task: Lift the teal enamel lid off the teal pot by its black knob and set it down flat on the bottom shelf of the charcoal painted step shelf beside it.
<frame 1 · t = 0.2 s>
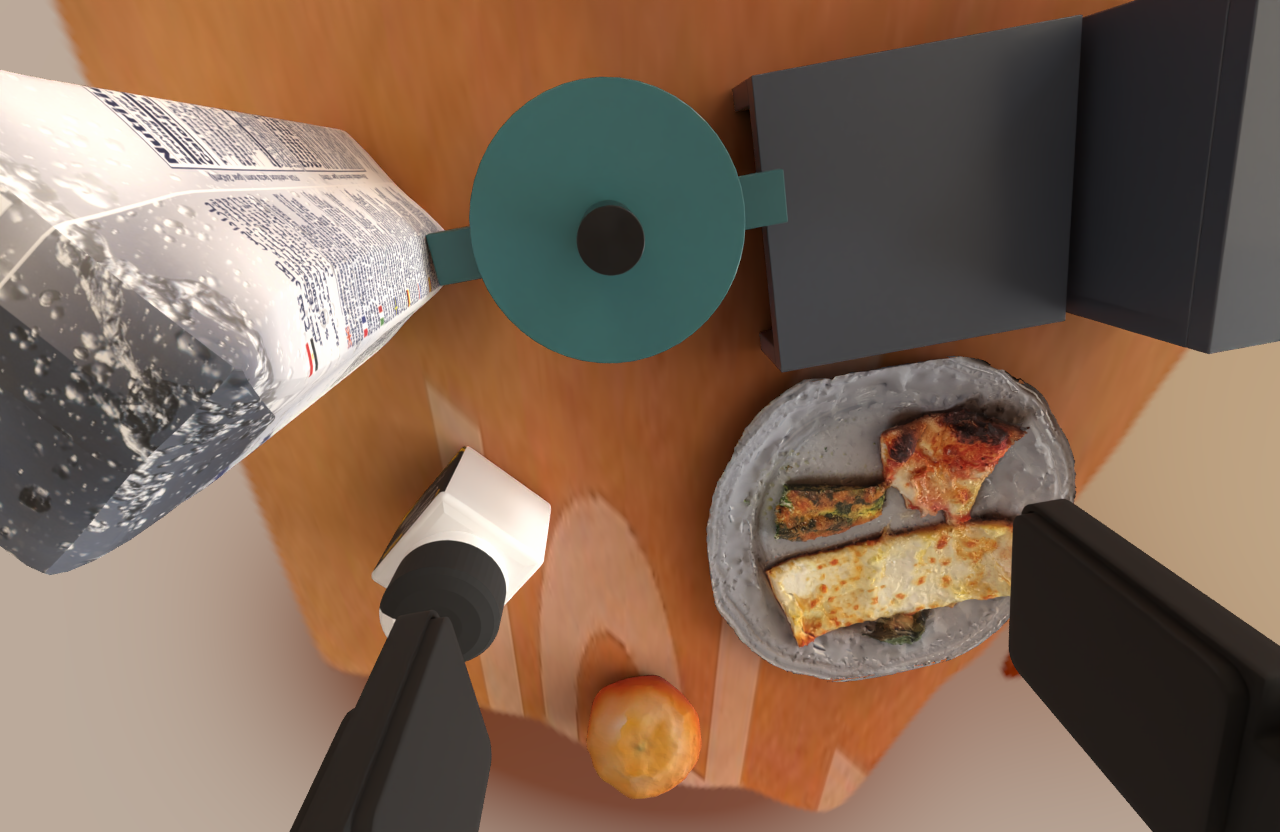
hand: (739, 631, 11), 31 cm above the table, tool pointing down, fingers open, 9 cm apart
pot: (607, 217, 38), on the table
lid: (608, 229, 30), point 8 cm above the table, touching pot
shelf rack: (881, 203, 39), on the table
food plate: (878, 515, 46), on the table
fruit: (641, 695, 50), on the table
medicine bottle: (479, 509, 44), on the table
juice carton: (364, 234, 38), on the table
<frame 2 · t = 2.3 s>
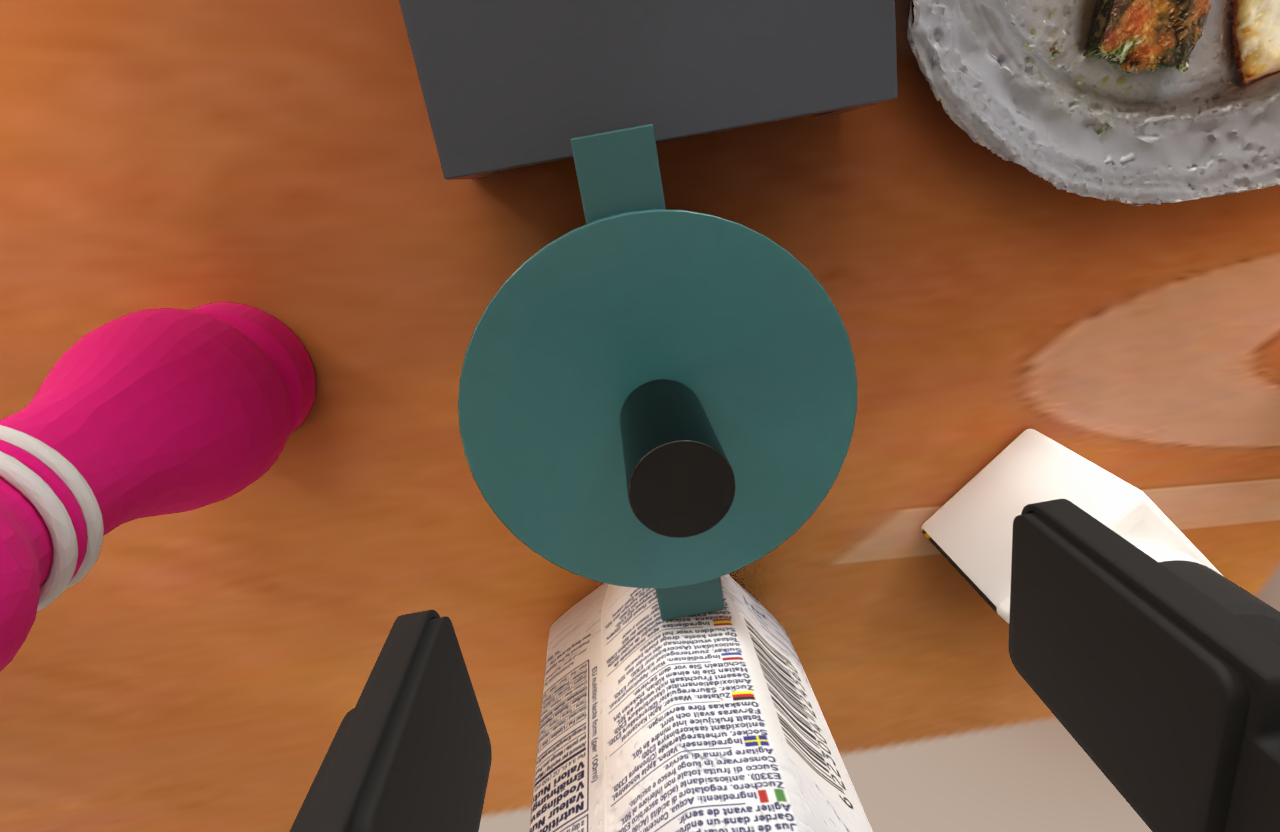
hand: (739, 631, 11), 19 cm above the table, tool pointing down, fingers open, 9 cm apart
pot: (641, 348, 29), on the table
lid: (660, 413, 21), point 8 cm above the table, touching pot
pepper mill: (243, 373, 28), on the table
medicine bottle: (1011, 515, 33), on the table
juice carton: (657, 611, 34), on the table
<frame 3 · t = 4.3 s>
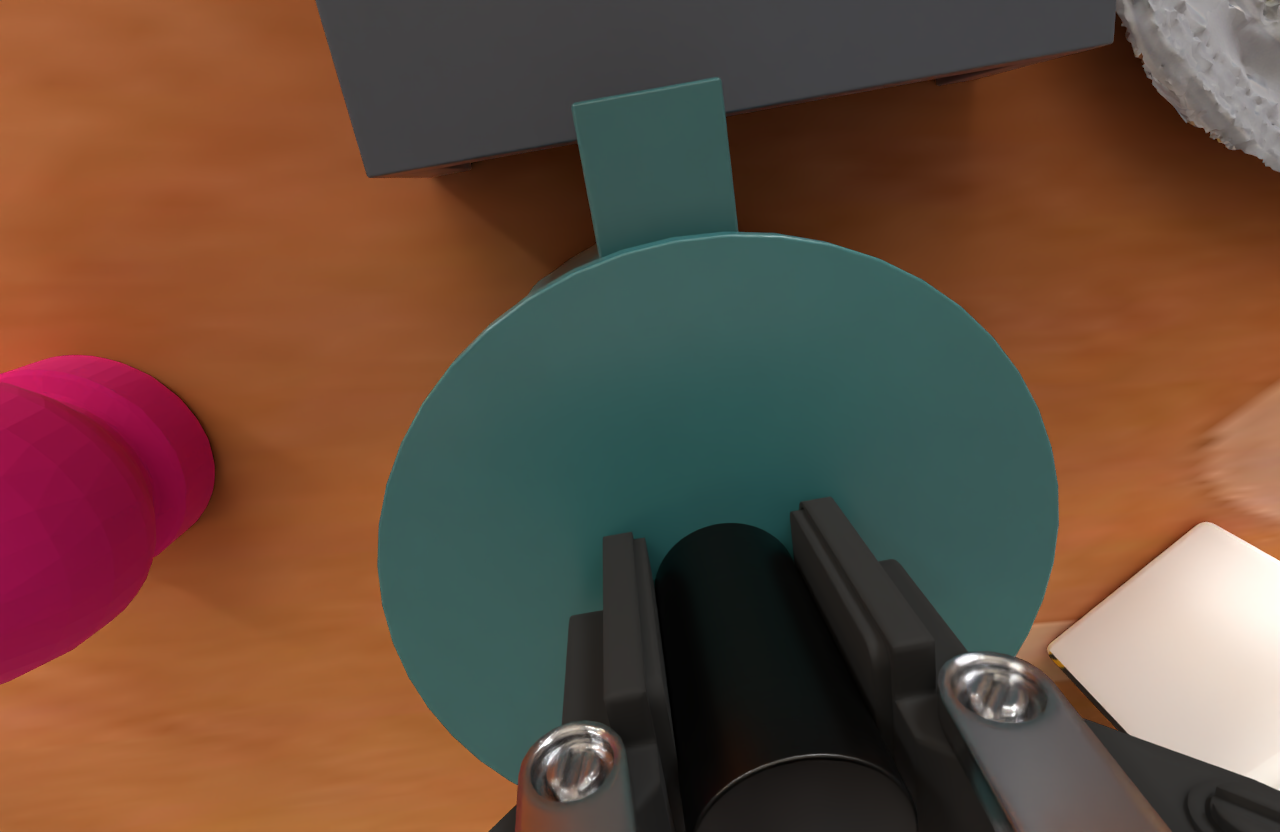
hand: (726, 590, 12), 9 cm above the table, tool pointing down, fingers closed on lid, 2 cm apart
pot: (673, 416, 20), on the table
lid: (720, 569, 12), point 9 cm above the table, touching gripper, pot
pepper mill: (113, 451, 20), on the table
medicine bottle: (1166, 630, 25), on the table
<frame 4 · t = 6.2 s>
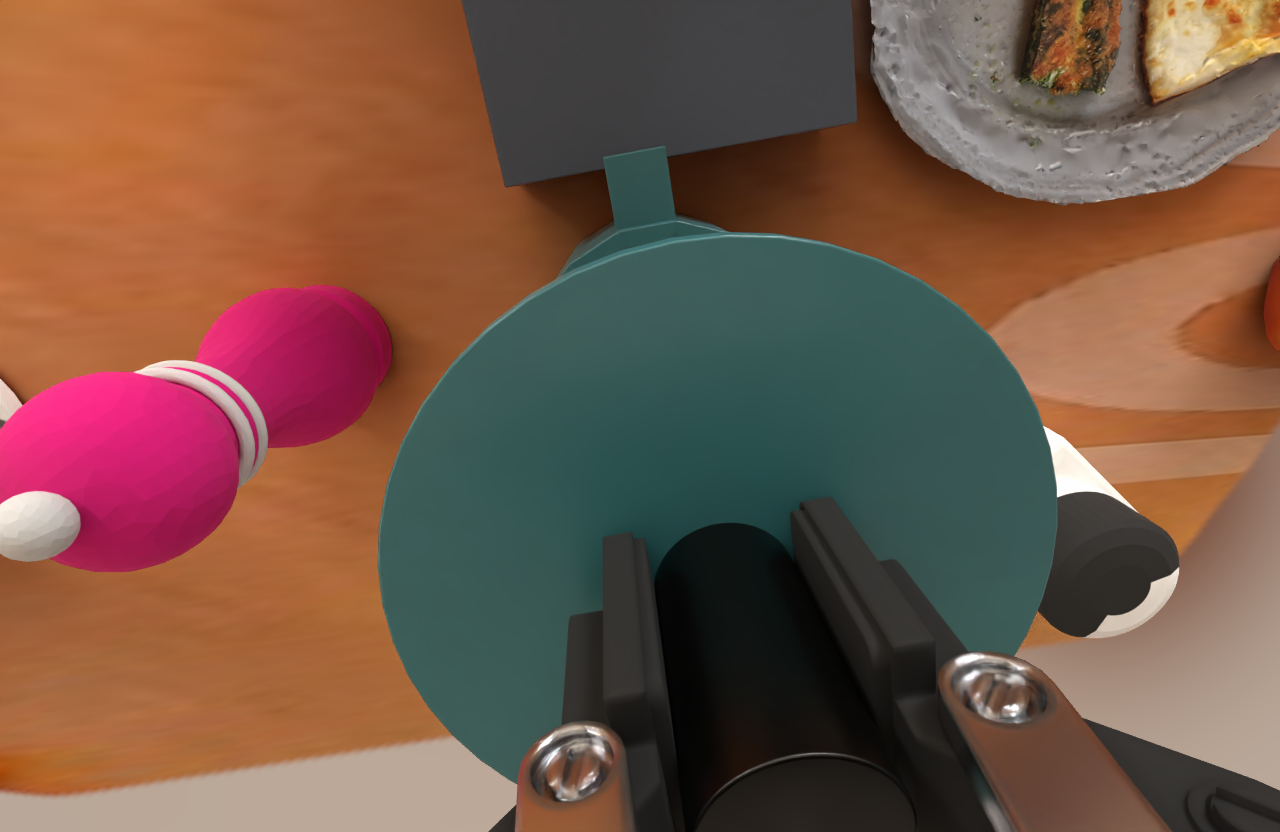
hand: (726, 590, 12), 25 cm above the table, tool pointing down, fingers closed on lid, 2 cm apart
pot: (656, 323, 35), on the table
lid: (720, 568, 13), point 24 cm above the table, touching gripper
pepper mill: (334, 343, 35), on the table
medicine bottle: (971, 468, 39), on the table
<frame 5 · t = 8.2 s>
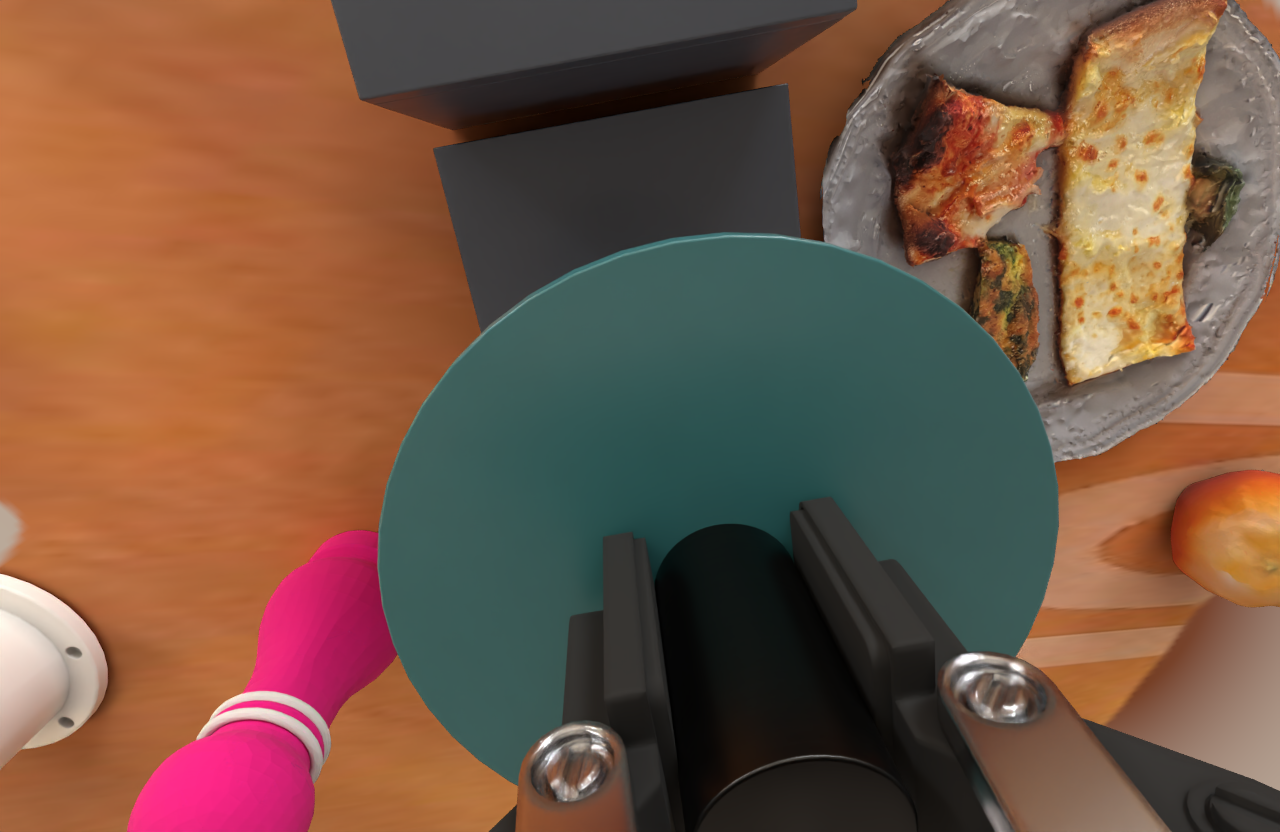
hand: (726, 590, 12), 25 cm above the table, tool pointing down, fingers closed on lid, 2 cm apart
lid: (720, 569, 12), point 24 cm above the table, touching gripper
shelf rack: (636, 287, 35), on the table
food plate: (1025, 235, 35), on the table
fruit: (1202, 506, 42), on the table
pepper mill: (367, 572, 40), on the table
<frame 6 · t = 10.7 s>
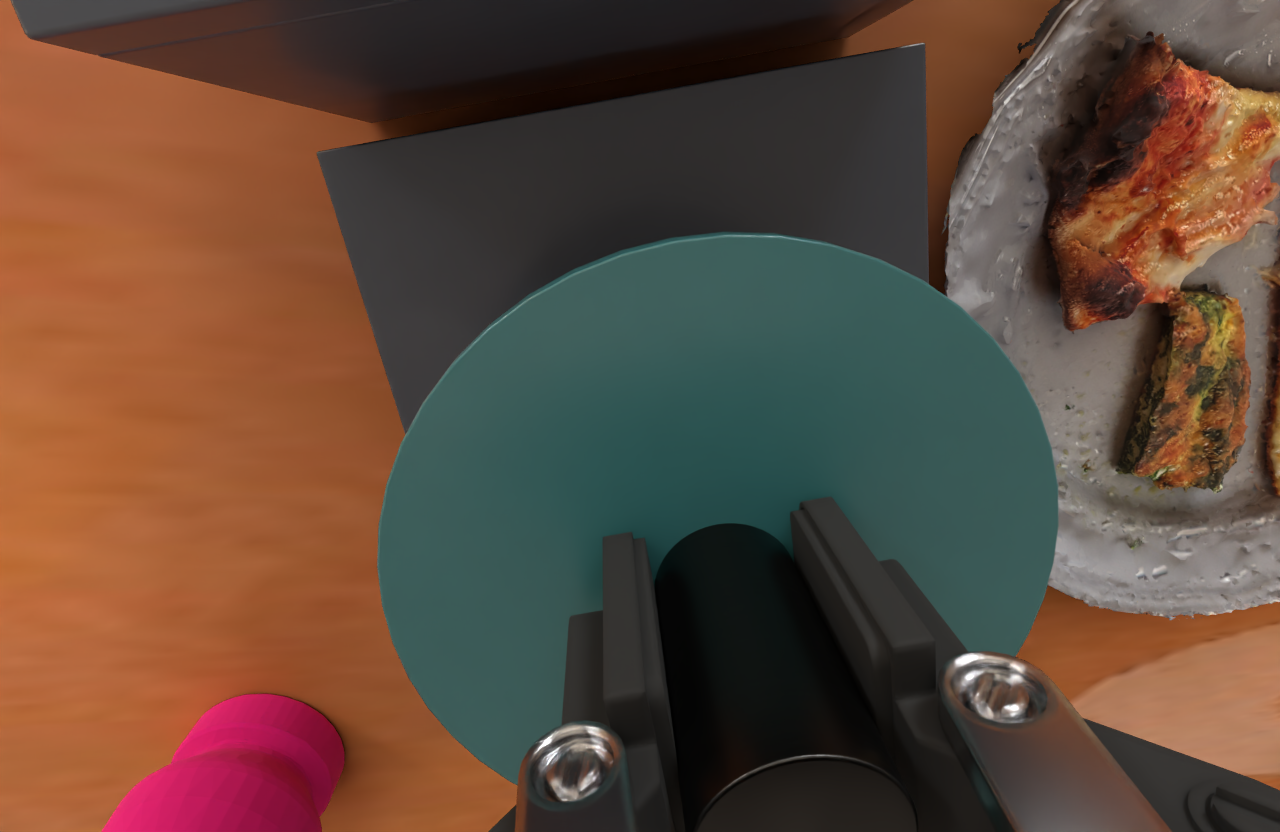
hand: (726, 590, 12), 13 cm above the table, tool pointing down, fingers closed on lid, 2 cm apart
lid: (720, 569, 12), point 12 cm above the table, touching gripper
shelf rack: (655, 359, 23), on the table
food plate: (1229, 281, 24), on the table
pepper mill: (272, 745, 28), on the table
when the fingers open (6 cm above the table, at t = 12.4 s): lid stays where it is, resting on shelf rack.
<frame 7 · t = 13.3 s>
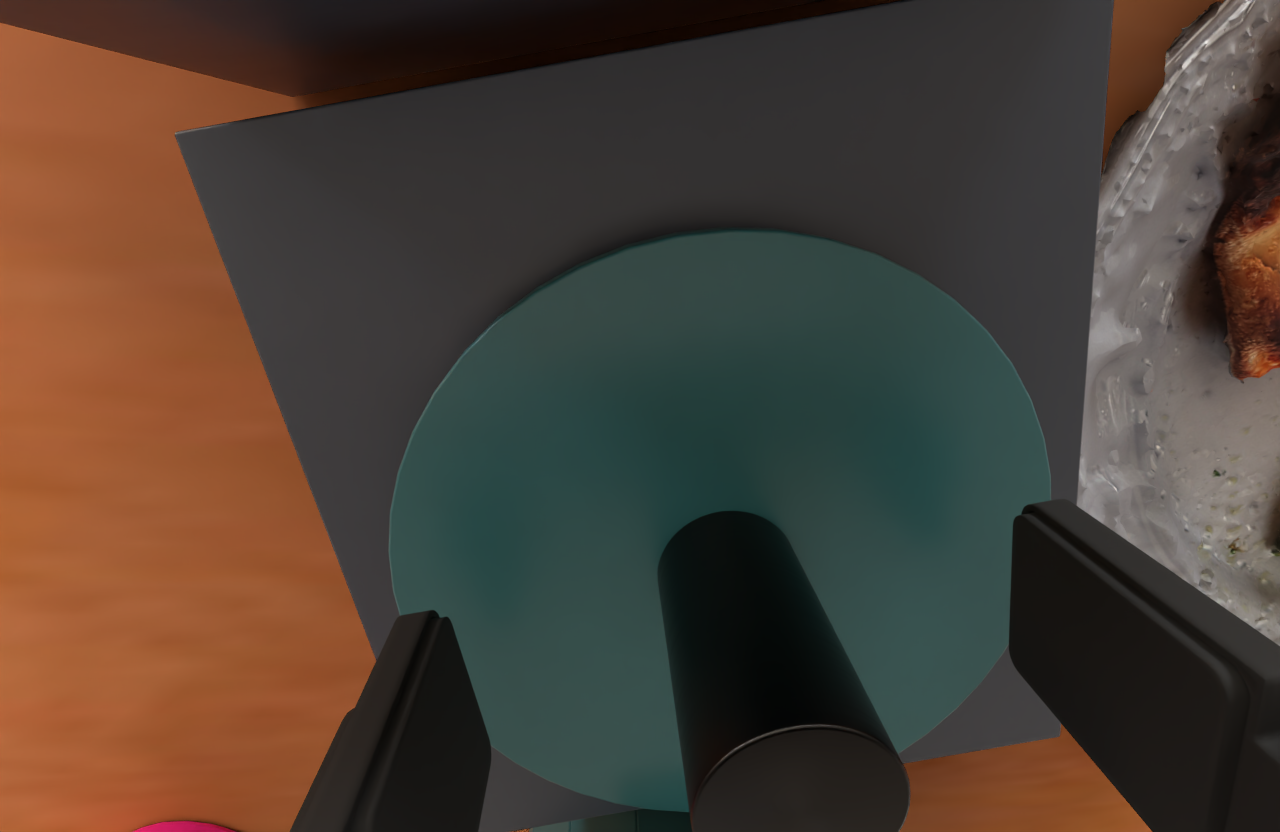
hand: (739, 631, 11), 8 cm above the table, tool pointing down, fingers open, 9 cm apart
lid: (721, 556, 13), point 6 cm above the table, touching shelf rack
shelf rack: (680, 412, 18), on the table
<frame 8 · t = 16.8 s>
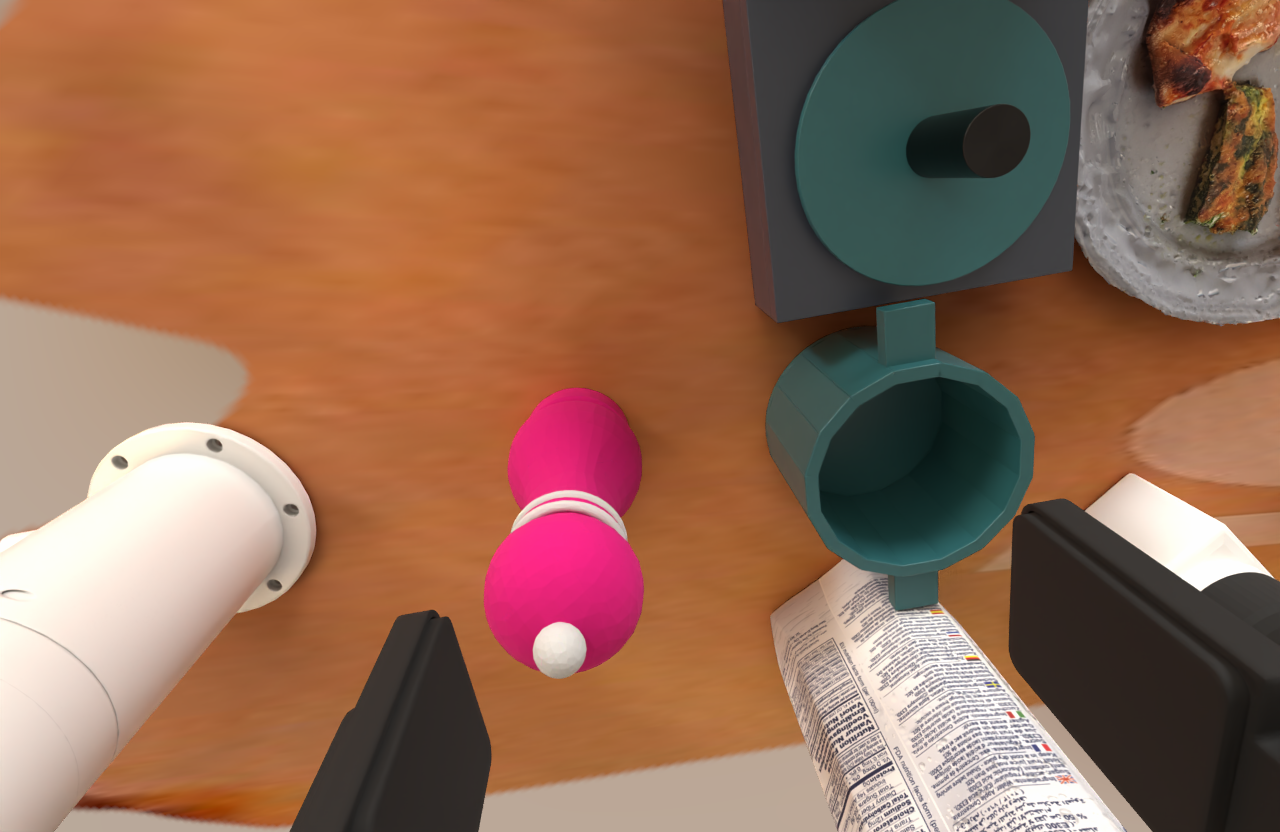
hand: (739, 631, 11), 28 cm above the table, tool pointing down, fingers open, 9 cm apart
pot: (857, 417, 40), on the table
lid: (928, 147, 30), point 6 cm above the table, touching shelf rack
shelf rack: (878, 132, 35), on the table
food plate: (1264, 82, 35), on the table
pepper mill: (578, 434, 40), on the table
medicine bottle: (1112, 535, 45), on the table
juice carton: (845, 606, 45), on the table
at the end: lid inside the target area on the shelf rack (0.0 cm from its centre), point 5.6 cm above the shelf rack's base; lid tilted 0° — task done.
